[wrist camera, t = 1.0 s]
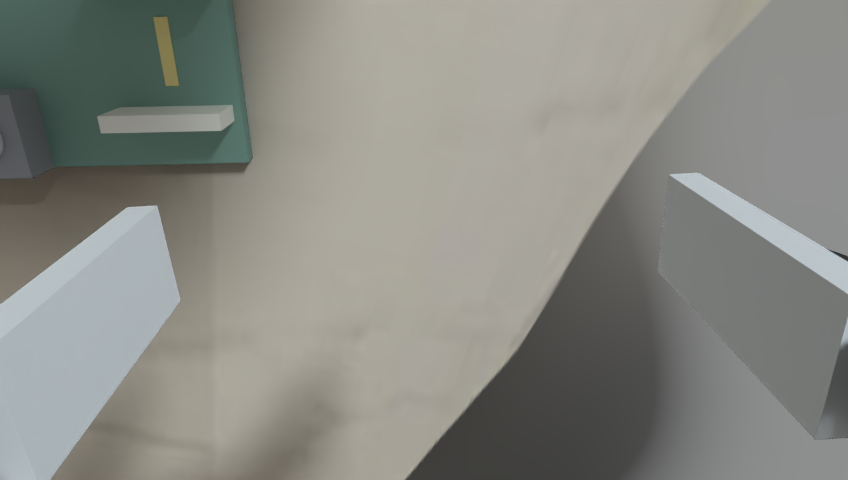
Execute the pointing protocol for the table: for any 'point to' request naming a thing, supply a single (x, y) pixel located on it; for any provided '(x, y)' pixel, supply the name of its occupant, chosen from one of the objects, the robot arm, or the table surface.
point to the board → (119, 84)
